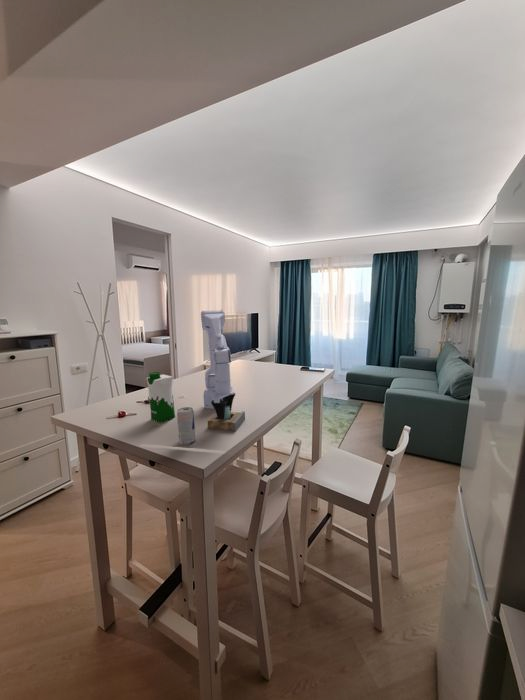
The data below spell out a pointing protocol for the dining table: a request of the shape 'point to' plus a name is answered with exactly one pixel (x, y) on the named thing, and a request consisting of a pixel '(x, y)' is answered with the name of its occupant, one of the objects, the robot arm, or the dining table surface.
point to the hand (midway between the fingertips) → (224, 415)
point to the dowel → (227, 413)
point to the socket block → (222, 422)
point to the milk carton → (161, 397)
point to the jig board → (238, 421)
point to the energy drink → (186, 425)
